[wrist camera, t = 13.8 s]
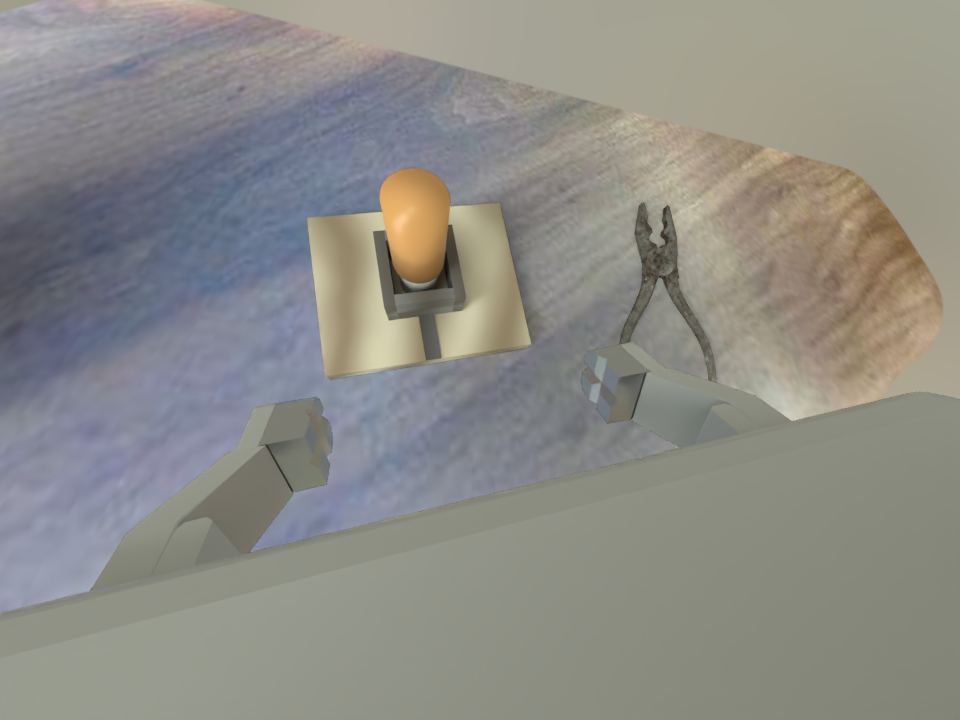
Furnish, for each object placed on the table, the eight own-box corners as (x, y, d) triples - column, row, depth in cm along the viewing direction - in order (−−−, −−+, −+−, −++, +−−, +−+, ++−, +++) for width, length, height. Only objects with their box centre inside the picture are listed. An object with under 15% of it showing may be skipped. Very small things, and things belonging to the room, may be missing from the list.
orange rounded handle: (400, 304, 26) (384, 232, 17) (393, 262, 27) (375, 169, 17) (445, 299, 27) (456, 226, 17) (437, 258, 28) (444, 166, 18)
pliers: (632, 416, 29) (580, 206, 32) (626, 416, 30) (576, 212, 33) (728, 397, 31) (668, 200, 34) (720, 398, 31) (663, 206, 35)
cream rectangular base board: (330, 379, 26) (311, 369, 22) (313, 228, 28) (292, 191, 24) (526, 348, 29) (543, 334, 25) (496, 213, 31) (507, 178, 27)
